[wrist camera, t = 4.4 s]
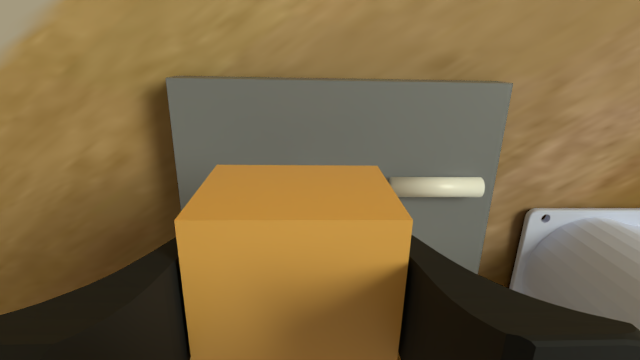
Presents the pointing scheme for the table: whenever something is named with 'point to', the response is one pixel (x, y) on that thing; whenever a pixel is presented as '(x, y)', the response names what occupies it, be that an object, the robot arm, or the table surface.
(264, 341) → the light wooden brick
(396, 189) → the flat gray rectangular board
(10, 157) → the table surface
